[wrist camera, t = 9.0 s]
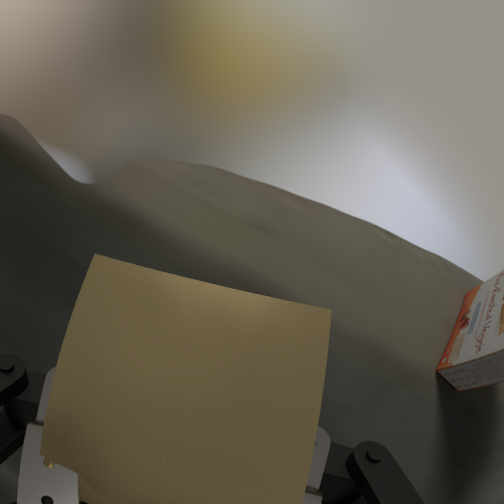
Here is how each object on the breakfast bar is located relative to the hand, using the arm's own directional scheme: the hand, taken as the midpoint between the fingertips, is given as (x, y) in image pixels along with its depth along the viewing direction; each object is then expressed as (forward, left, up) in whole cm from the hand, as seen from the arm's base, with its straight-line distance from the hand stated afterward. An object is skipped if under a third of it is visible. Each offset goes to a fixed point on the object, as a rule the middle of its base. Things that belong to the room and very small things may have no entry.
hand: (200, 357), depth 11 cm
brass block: (0, -2, -5) cm, 5 cm away
